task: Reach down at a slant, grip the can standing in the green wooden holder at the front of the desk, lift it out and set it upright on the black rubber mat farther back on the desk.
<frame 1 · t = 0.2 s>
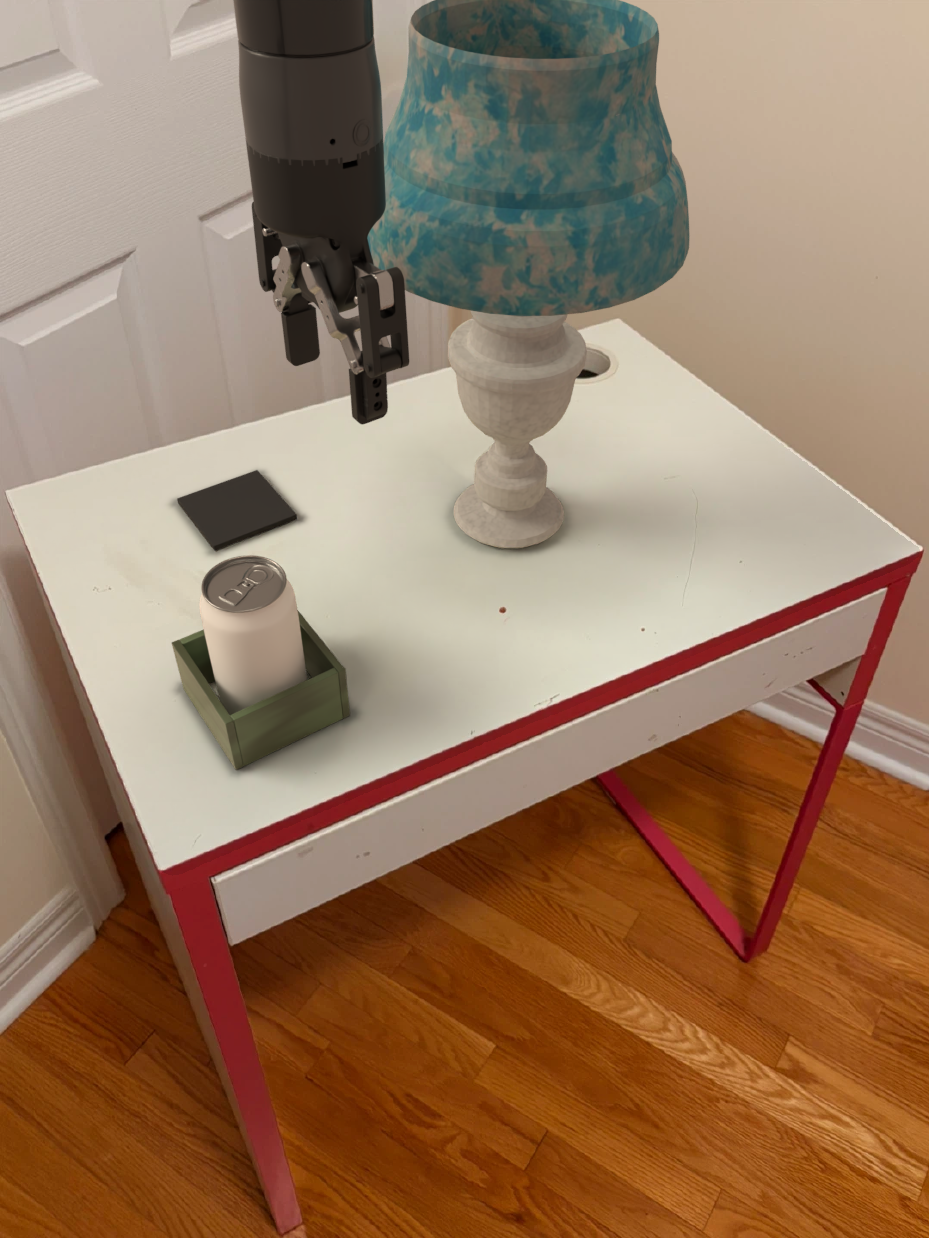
hand: (336, 389, 68), 22 cm above the table, tool pointing down, fingers open, 8 cm apart
can: (266, 703, 78), resting in caddy
table lamp: (508, 518, 94), on the table
mat: (237, 511, 94), on the table
caddy: (266, 702, 78), on the table
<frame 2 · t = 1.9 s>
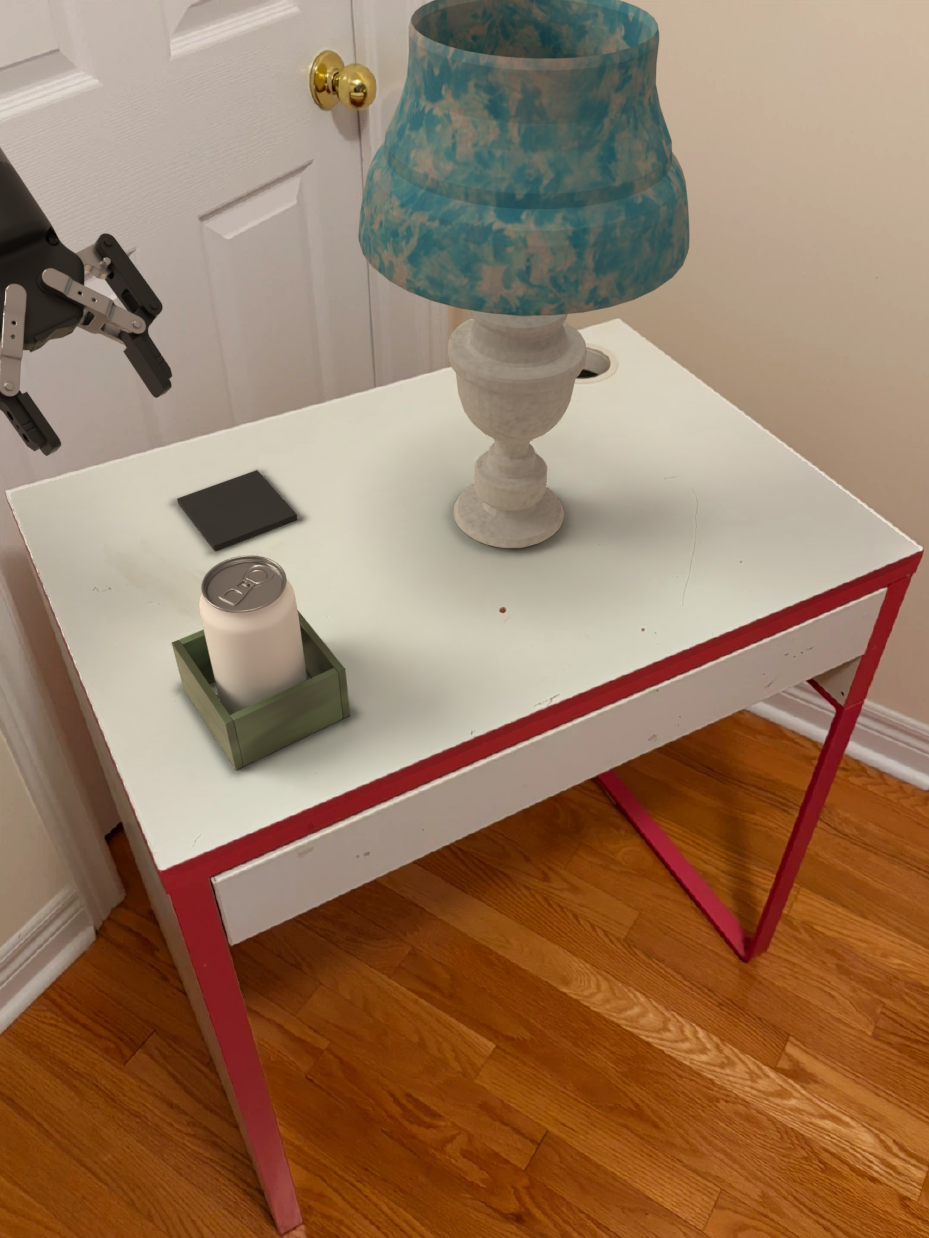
hand: (111, 420, 68), 21 cm above the table, tool tilted 40°, fingers open, 8 cm apart
nothing on the table moved.
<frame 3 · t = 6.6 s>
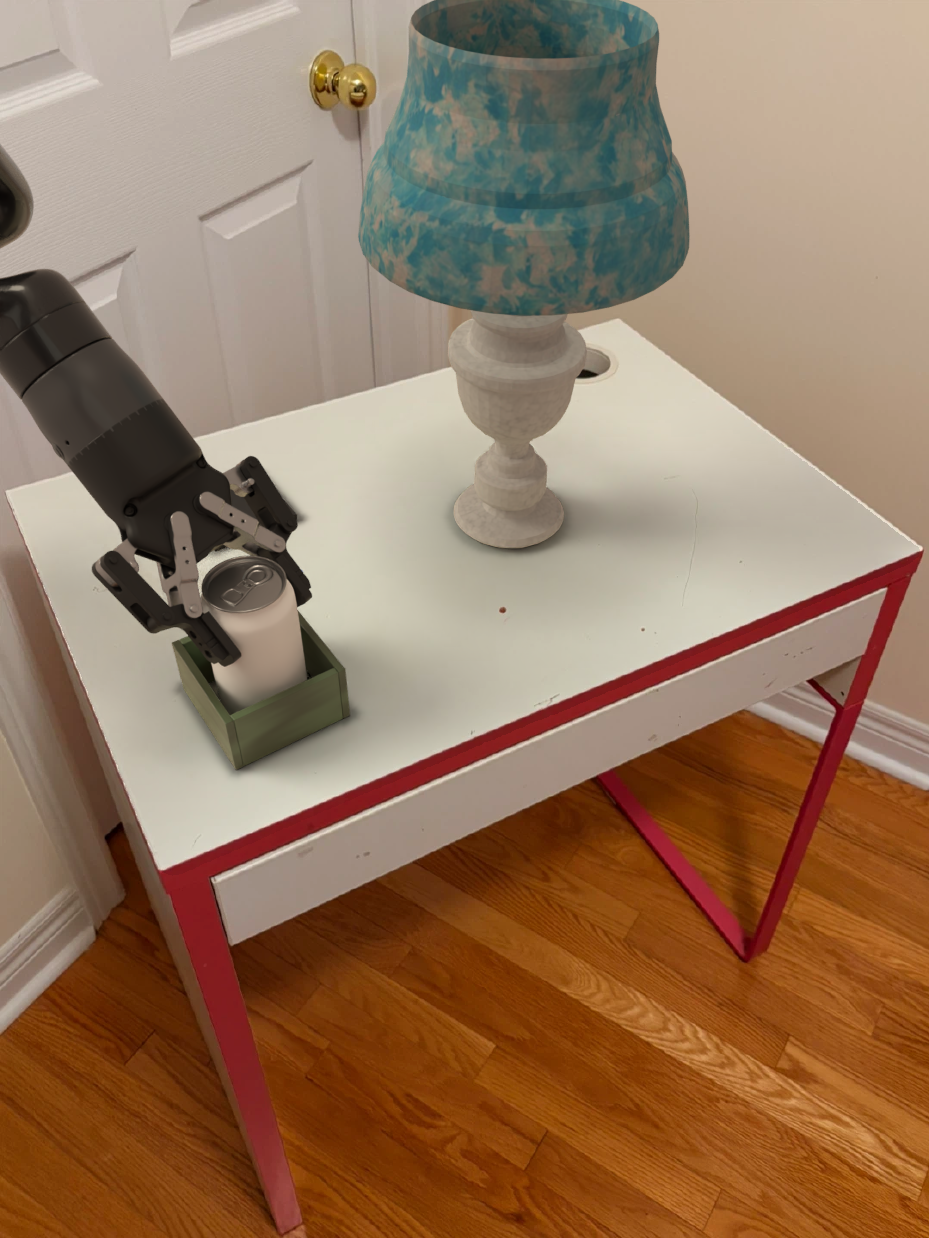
hand: (269, 630, 72), 8 cm above the table, tool tilted 45°, fingers closed on can, 6 cm apart
can: (266, 703, 78), resting in caddy, touching gripper
everything else where it was.
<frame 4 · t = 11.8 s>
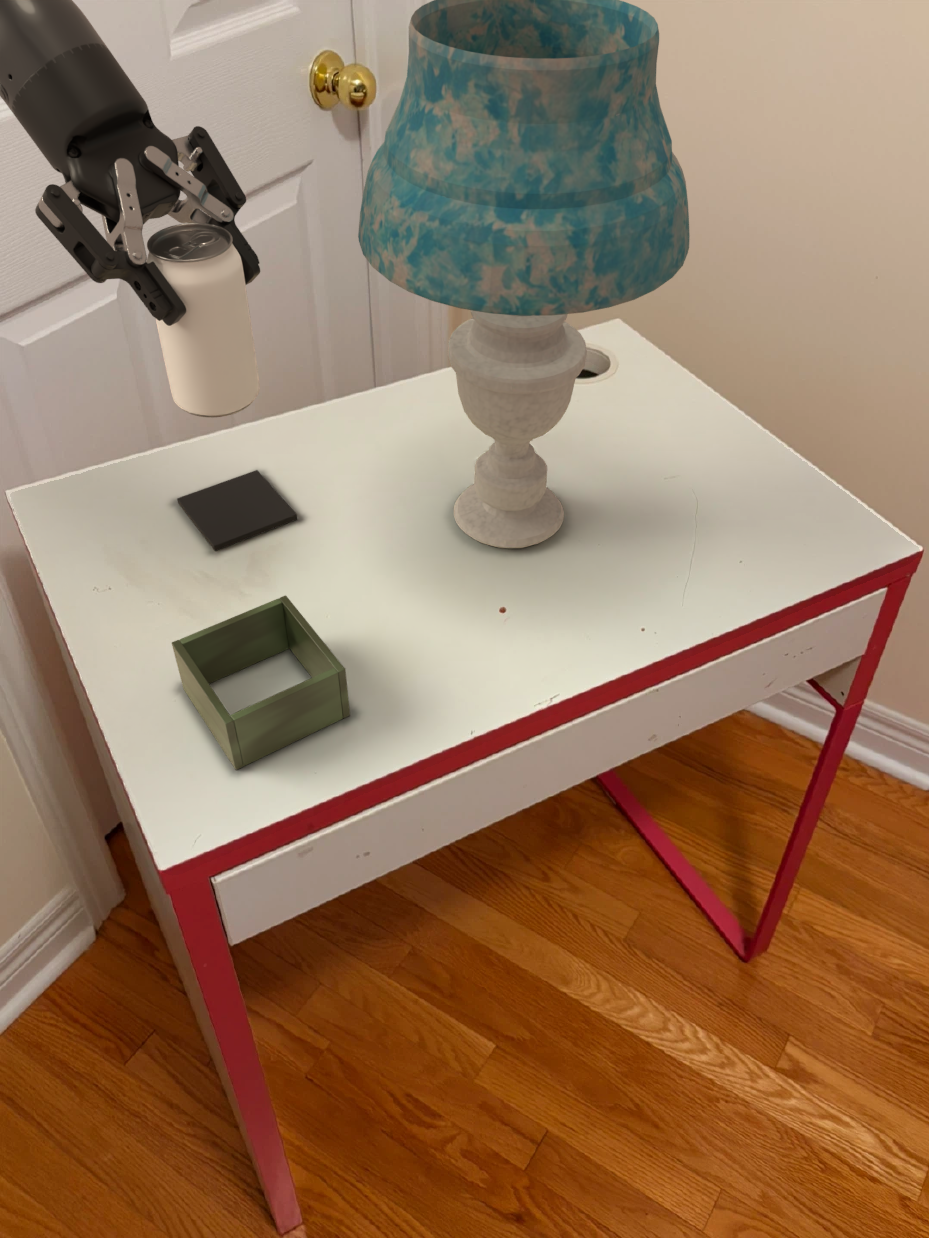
hand: (216, 298, 72), 25 cm above the table, tool tilted 45°, fingers closed on can, 6 cm apart
can: (217, 398, 78), point 16 cm above the table, touching gripper
everything else where it was.
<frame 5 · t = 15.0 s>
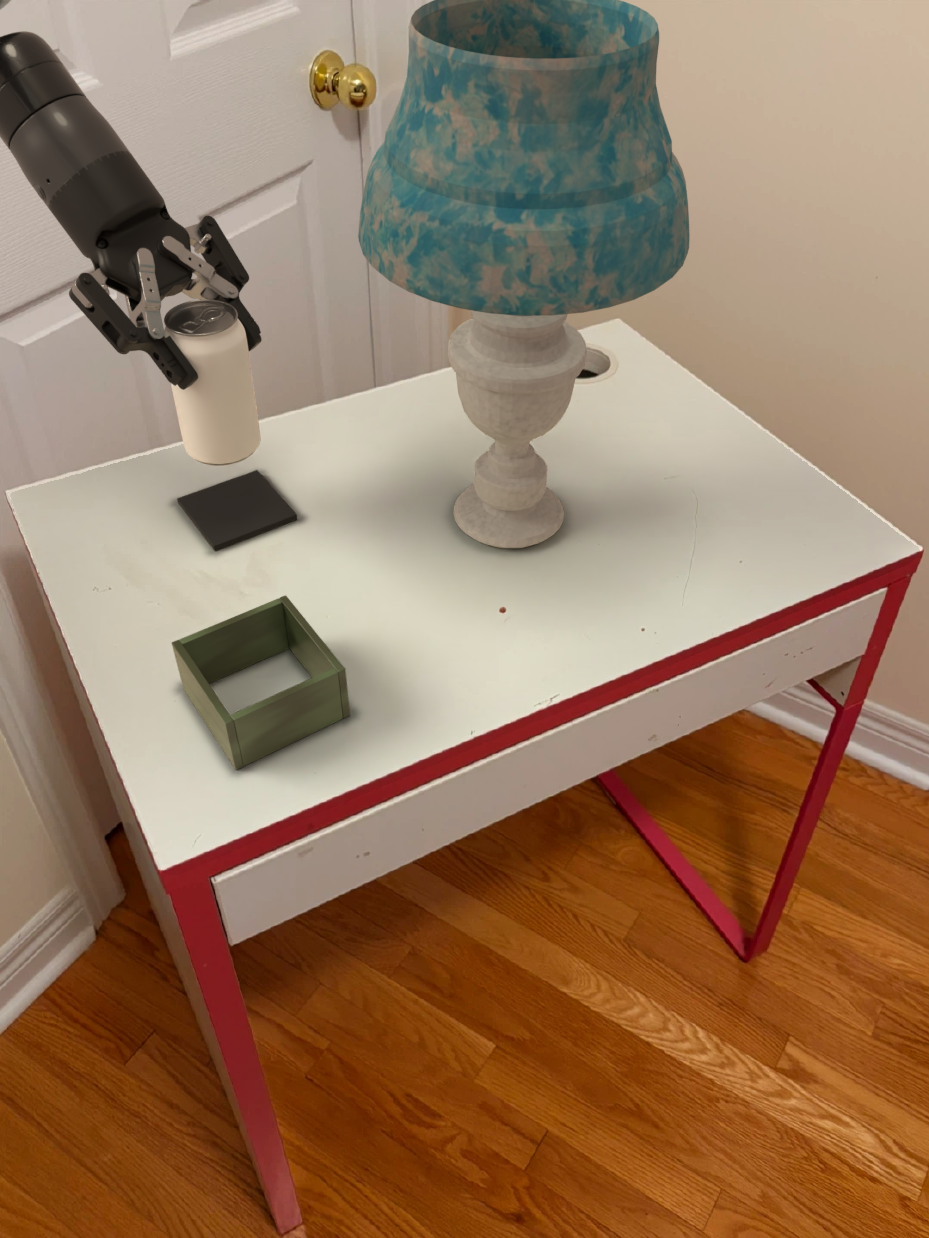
hand: (223, 364, 83), 15 cm above the table, tool tilted 45°, fingers closed on can, 6 cm apart
can: (223, 447, 90), point 7 cm above the table, touching gripper
everything else where it was.
when the fingers open (9 cm above the table, at t = 17.4 s): can stays where it is, resting on mat.
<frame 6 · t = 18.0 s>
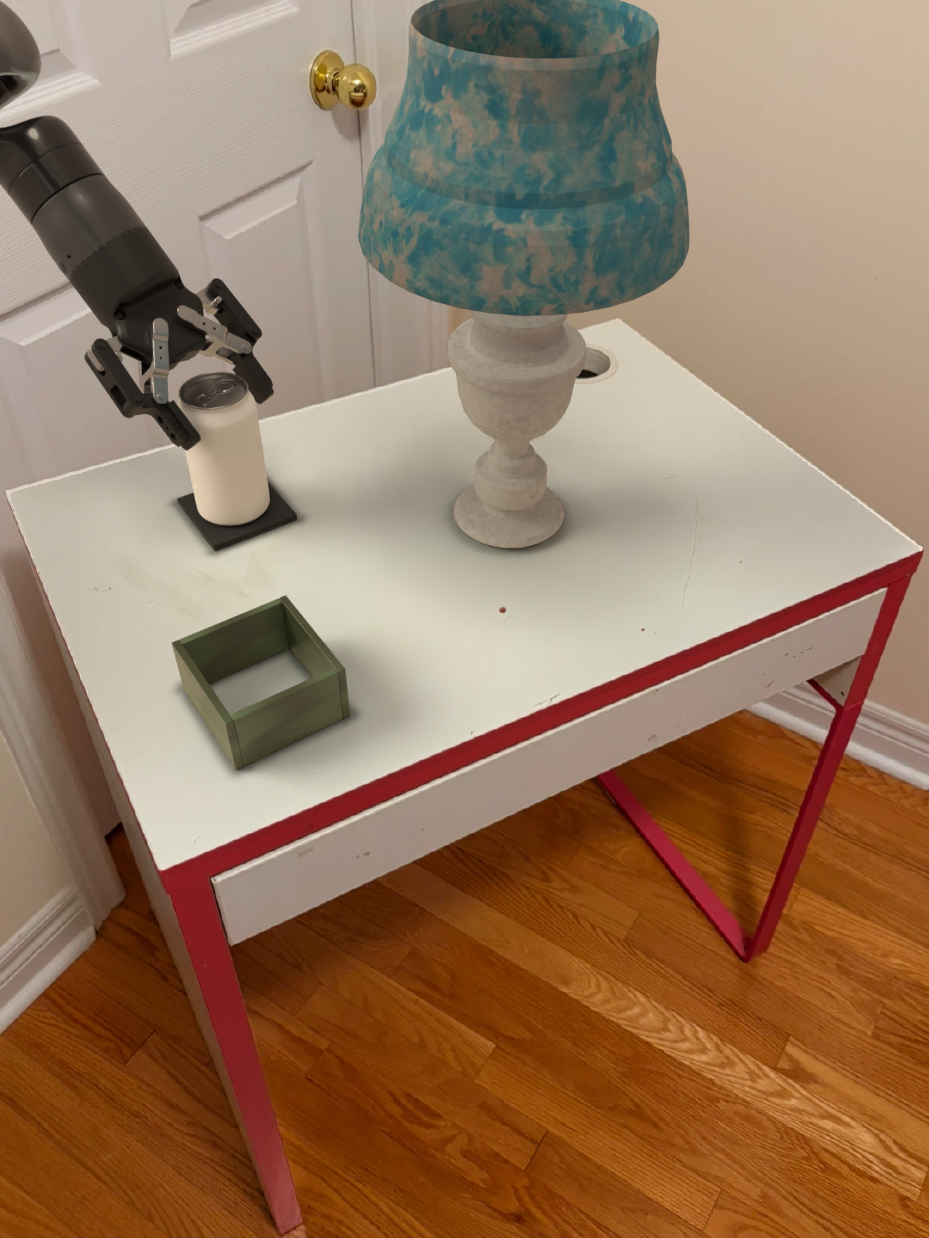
hand: (232, 421, 87), 10 cm above the table, tool tilted 45°, fingers open, 8 cm apart
can: (234, 507, 94), resting on mat
everything else where it was.
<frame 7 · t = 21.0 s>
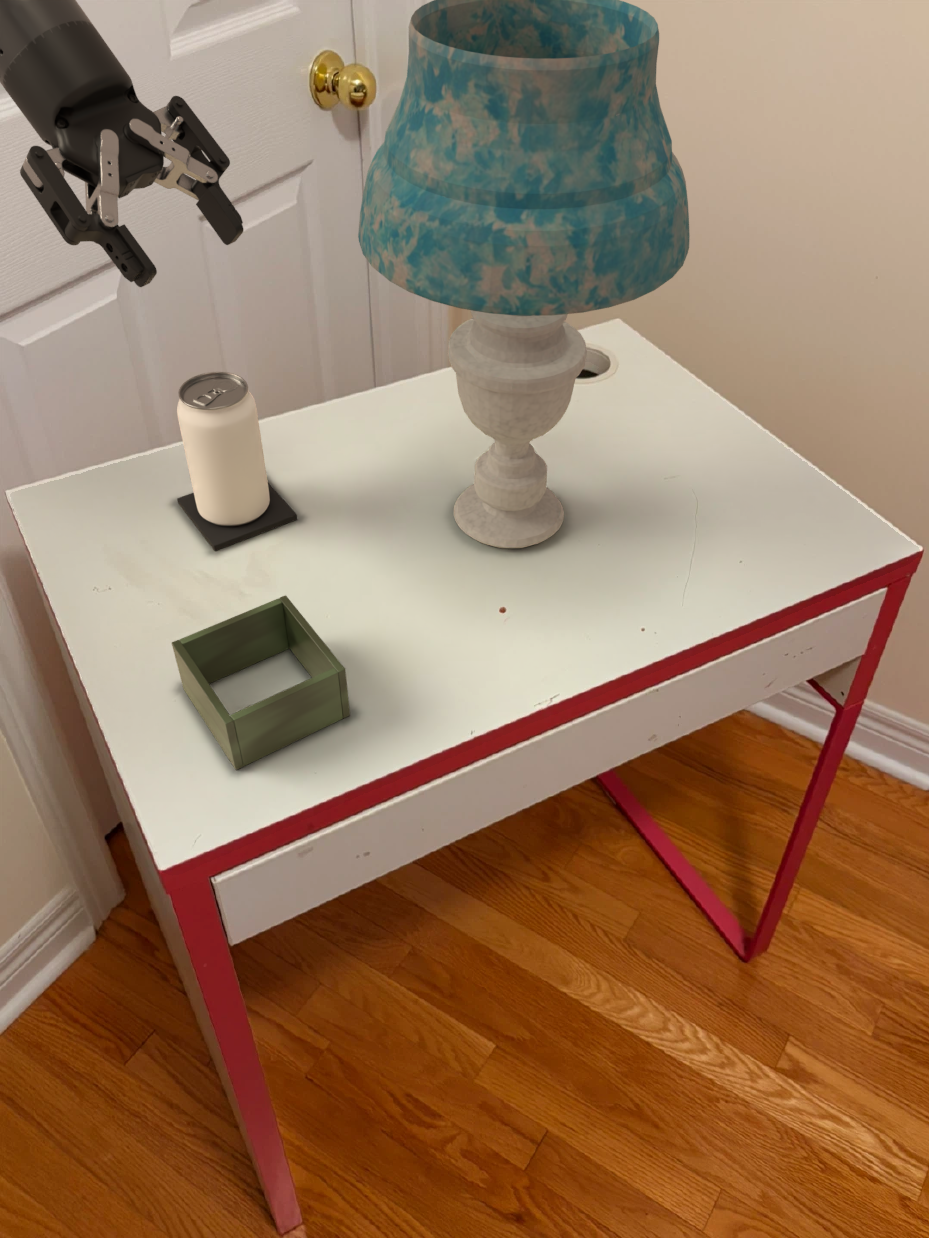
hand: (194, 258, 75), 25 cm above the table, tool tilted 45°, fingers open, 8 cm apart
nothing on the table moved.
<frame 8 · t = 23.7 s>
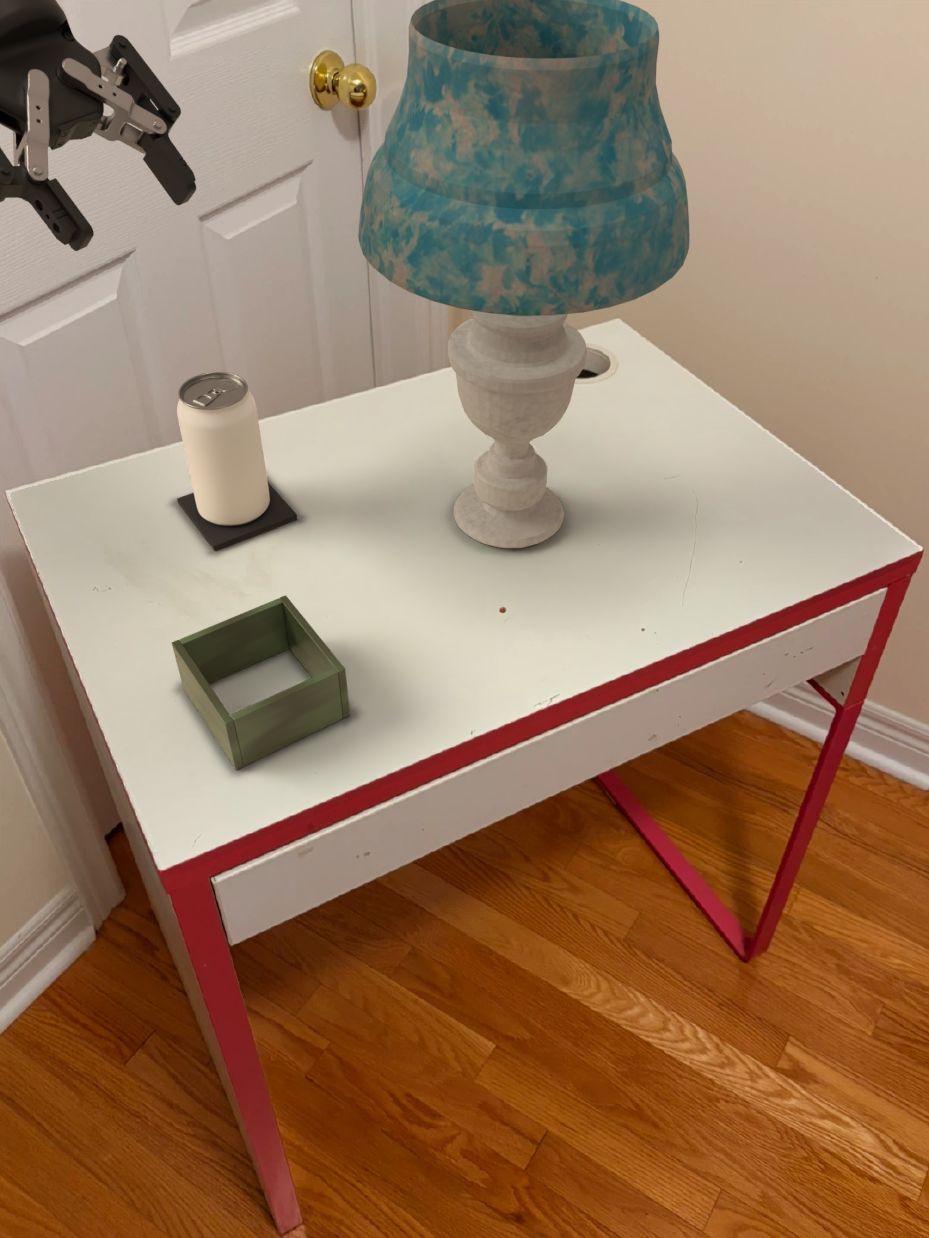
hand: (139, 219, 66), 31 cm above the table, tool tilted 45°, fingers open, 8 cm apart
nothing on the table moved.
at the end: can inside the target area on the mat (0.2 cm from its centre), point 0.4 cm above the mat's base; can tilted 0°; the gripper is holding nothing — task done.
